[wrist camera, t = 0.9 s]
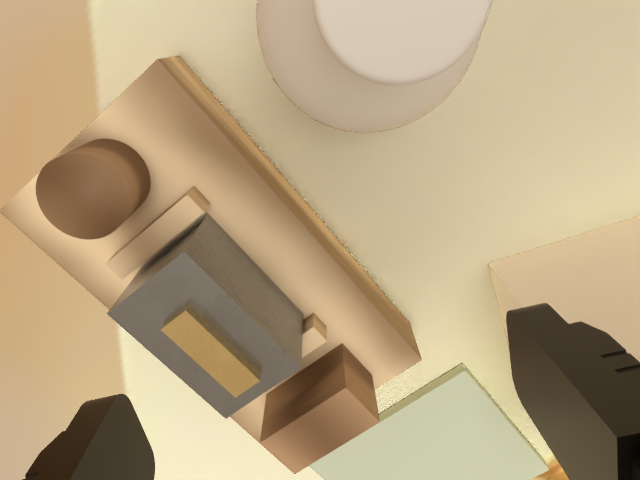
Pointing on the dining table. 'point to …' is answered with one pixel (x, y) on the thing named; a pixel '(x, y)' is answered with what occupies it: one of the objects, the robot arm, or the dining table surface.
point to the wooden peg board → (242, 226)
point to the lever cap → (213, 318)
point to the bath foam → (369, 56)
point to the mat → (438, 439)
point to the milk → (580, 281)
